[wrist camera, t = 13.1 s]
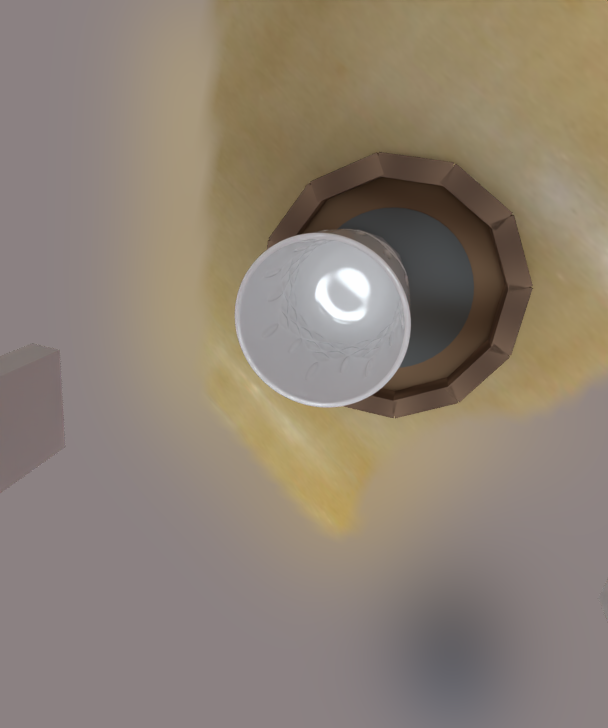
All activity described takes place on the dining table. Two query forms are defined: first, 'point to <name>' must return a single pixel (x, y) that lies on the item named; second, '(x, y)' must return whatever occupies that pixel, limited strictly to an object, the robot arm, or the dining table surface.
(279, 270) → the white cup
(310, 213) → the tray
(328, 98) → the dining table surface
